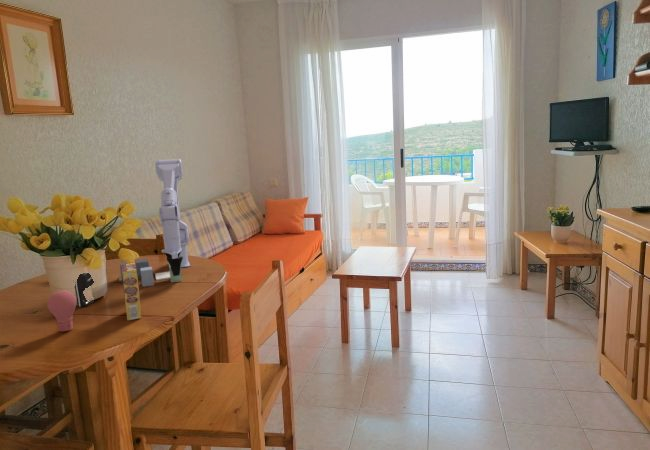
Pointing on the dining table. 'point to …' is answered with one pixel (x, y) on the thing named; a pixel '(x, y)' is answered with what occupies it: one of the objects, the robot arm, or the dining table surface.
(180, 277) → the sage part
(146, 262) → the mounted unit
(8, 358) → the dining table surface
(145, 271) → the blue-grey part
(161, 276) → the plate
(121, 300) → the dining table surface
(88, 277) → the black curved piece
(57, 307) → the light bulb
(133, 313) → the candy box
